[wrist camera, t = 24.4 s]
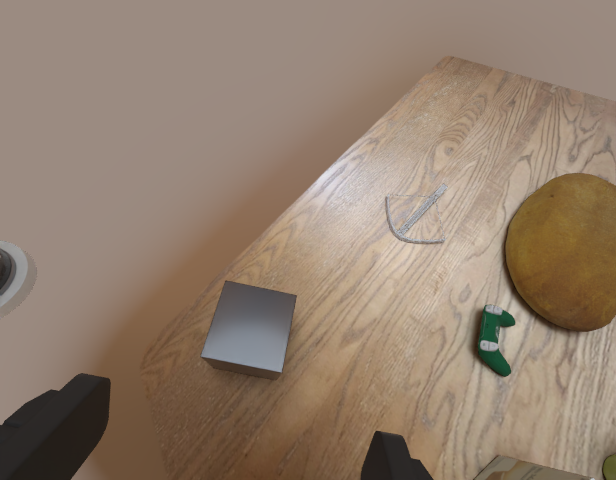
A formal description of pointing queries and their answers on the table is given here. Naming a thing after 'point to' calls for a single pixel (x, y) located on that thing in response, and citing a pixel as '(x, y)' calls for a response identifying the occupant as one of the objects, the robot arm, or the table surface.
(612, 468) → the plant pot
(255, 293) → the block
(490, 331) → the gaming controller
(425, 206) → the crossbow
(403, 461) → the robot arm
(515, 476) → the cosmetic box
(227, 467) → the table surface
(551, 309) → the bread
